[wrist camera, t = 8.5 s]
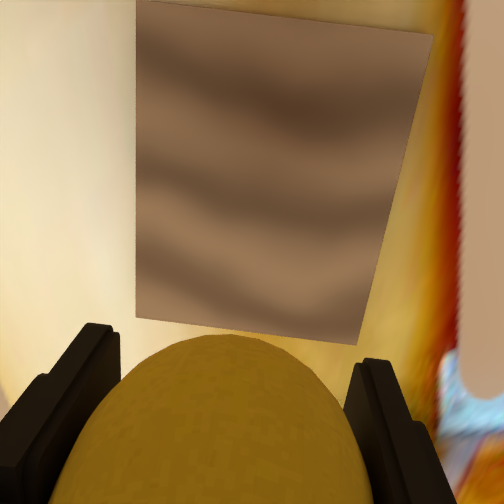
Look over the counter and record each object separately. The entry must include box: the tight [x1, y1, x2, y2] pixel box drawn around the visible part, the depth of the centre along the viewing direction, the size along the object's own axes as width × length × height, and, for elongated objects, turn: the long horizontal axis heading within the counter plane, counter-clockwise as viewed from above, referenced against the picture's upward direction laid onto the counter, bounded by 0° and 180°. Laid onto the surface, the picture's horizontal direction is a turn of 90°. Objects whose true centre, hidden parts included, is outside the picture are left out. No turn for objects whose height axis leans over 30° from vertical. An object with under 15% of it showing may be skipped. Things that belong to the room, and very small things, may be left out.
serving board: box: [136, 0, 434, 345], centre depth 27 cm, size 20×16×2 cm
